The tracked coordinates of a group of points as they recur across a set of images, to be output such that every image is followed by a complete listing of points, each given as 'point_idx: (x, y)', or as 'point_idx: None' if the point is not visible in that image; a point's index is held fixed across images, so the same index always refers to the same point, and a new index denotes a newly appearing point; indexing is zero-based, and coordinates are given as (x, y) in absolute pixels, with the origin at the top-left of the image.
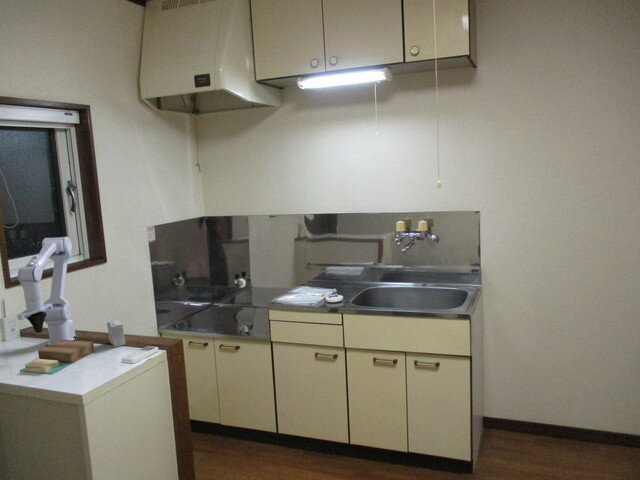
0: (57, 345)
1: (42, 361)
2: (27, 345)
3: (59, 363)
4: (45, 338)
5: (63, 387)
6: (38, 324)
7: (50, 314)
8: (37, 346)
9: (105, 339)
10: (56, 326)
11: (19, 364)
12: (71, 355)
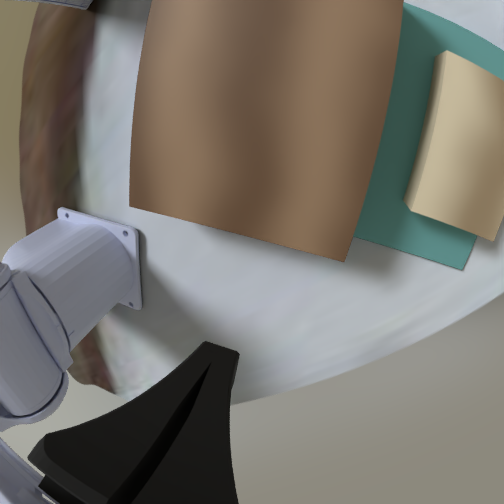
0: (231, 167)
1: (458, 157)
2: (159, 367)
3: (403, 67)
4: (98, 332)
5: None
6: (223, 429)
7: (21, 370)
8: (158, 333)
9: (59, 60)
10: (60, 298)
11: (371, 314)
12: None
